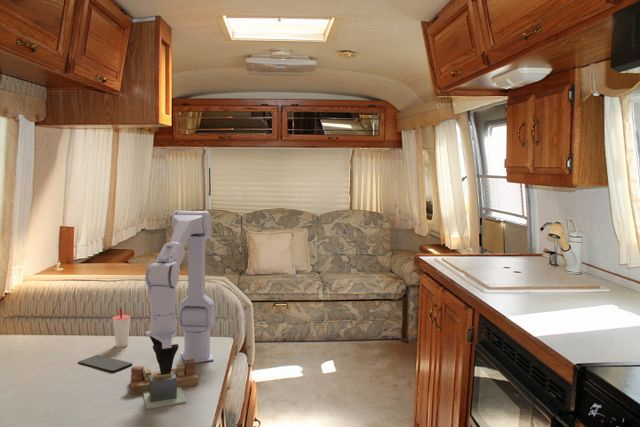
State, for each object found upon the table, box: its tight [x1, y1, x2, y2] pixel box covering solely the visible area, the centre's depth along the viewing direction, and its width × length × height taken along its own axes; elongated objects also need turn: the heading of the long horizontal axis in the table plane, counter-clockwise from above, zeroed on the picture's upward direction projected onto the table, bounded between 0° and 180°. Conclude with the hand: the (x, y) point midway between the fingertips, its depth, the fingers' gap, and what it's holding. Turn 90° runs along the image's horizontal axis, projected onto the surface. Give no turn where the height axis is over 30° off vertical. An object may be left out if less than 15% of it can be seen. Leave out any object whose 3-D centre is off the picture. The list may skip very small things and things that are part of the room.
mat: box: [142, 387, 187, 410], centre depth 124 cm, size 9×9×1 cm
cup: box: [111, 307, 131, 348], centre depth 161 cm, size 5×5×12 cm
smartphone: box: [77, 354, 133, 374], centre depth 145 cm, size 7×1×15 cm
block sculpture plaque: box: [130, 359, 199, 395], centre depth 132 cm, size 8×16×5 cm, turn 113°
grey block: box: [149, 372, 177, 402], centre depth 123 cm, size 4×6×6 cm, turn 113°
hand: (163, 368), depth 123 cm, fingers open, 7 cm apart
